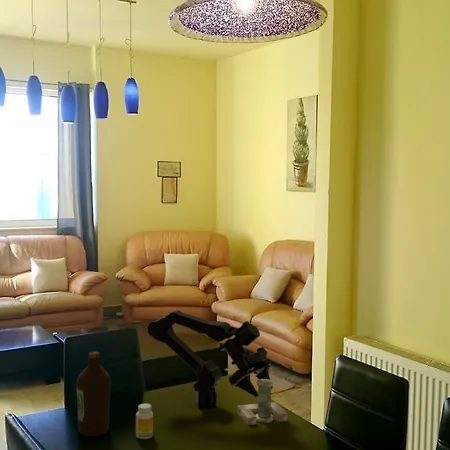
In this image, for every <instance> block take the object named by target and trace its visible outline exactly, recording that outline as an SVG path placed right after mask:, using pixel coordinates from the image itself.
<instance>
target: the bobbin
mask: <svg viewBox="0 0 450 450" xmlns="http://www.w3.org/2000/svg"><path fill="white" fill-rule="evenodd" d="M256 386H257V393H258V396H257V404H258V414H256V415H255V416H256V423H260V424H268V423H273V421H274V416H273V415H272V414H271V402H272V389H271V386H274V381H273V380H272V379H270V380H269V379H260V380H259V379H257V380H256Z"/></svg>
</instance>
